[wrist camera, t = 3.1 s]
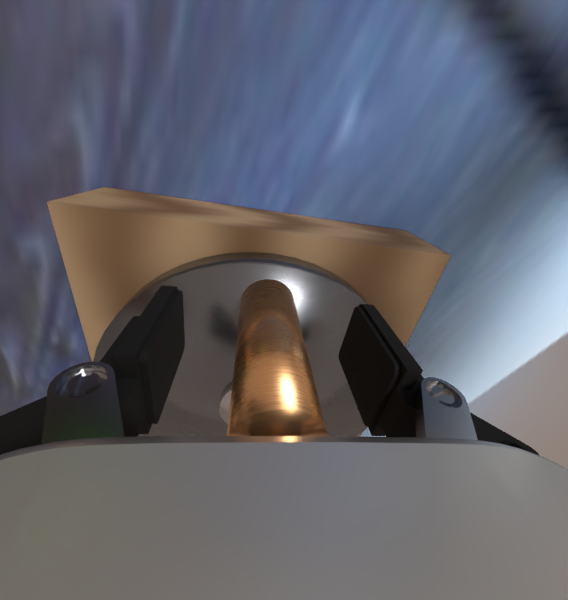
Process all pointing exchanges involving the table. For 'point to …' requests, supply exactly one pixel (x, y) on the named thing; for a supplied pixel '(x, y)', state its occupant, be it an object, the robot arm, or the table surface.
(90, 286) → the block
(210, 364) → the handwheel
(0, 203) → the table surface
